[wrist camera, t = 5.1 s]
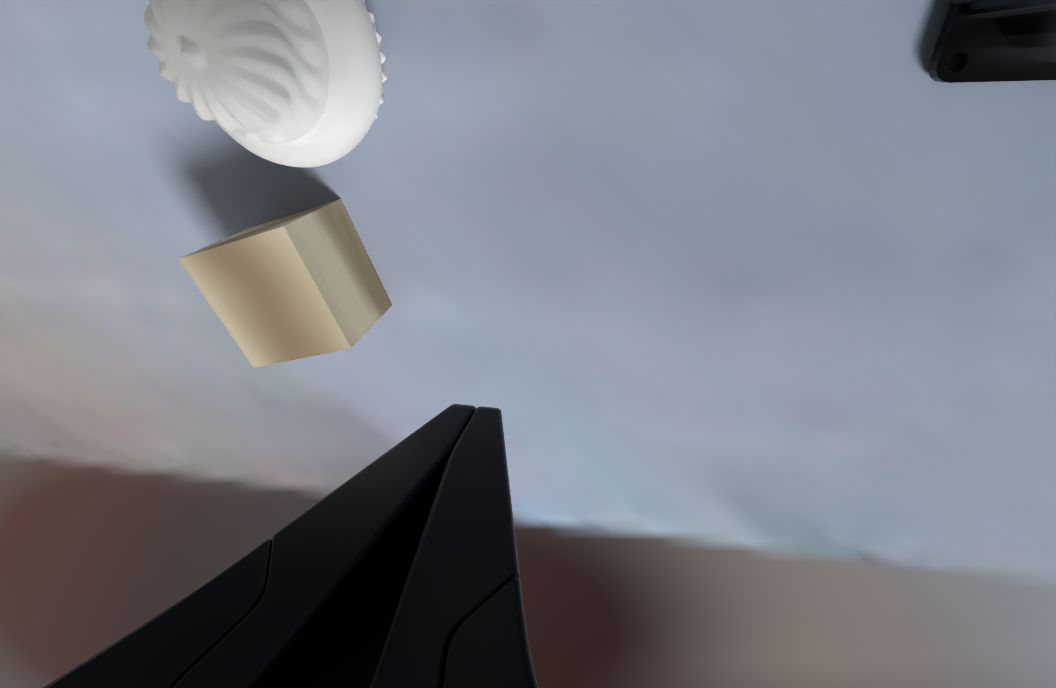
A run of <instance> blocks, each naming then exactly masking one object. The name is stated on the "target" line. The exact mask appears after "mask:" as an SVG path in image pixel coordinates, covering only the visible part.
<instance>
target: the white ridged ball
mask: <svg viewBox="0 0 1056 688" xmlns="http://www.w3.org/2000/svg"><path fill="white" fill-rule="evenodd" d="M150 3H151V4H150V5H149V6H148V7H147V8H146V10H145V14H144V20H145V24H146V26H147V28H148V29H149V30H150V32H151V33H152V34H151V35H150V36H149V39H148V42H147V45H148V47H149V49H150V50H151V52H152V53H153V54H154V55H155V56H157V57H158V59H159V60H160V67H159V74H160V75H161V76H163V77H164V78H166V79H167V80H169V81H171V82H172V83H173V84H174V88H175V94H176V97H177V98H178V99H179V100H180V101H183V102H191V103H192V105H193V107H194V109H195V111H196V113H197V114H198V115H199V117H200V118H201V119H203V120H205V121H208V120H215V121H216V122H217V123H218V124H219V125H220V127H221V128H222V129H224V130H225V131H226V132H227V133H228V134H229V135H230V136H231V137H232V138H233V139H234V140H236V141H237V142H238V143H239V144H241V145H242V146H243V147H245V148H246V149H248V150H249V151H251V152H252V153H254V154H256V155H257V156H259V157H261V158H264V159H266V160H269V161H271V162H274V163H277V164H282V165H286V166H292V167H317V166H322V165H326V164H329V163H331V162H334V161H336V160H338V159H340V158H341V157H343V156H344V155H346V154H347V153H348V152H350V151H351V150H352V149H353V148H354V147H355V146H357V144H358V143H359V142H360V141H361V140H362V139H363V137H364V136H365V135H366V133H367V132H368V131H369V129H370V127H371V125H372V123H373V121H374V119H376V118H377V117H378V108H379V104H381V103H383V101H384V99H383V89H382V83H383V82H384V81H385V80H386V79H387V77H386V74H385V71H384V68H383V66H382V64H383V62H384V61H385V60H386V57H385V56H384V55H383V54H382V53H381V52H380V50H381V41H382V36H381V35H380V34H378V33H377V32H376V26H375V19H374V15H373V14H372V13H370V12H368V11H367V8H366V4H365V1H364V0H150Z"/></svg>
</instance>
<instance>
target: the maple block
mask: <svg viewBox="0 0 1056 688" xmlns="http://www.w3.org/2000/svg"><path fill="white" fill-rule="evenodd" d="M179 260H180V261H181V263H182V264H183V266H184V267H185V268H186V270H187V271H188V273H189V274H190V276H191V277H192V279H193V280H194V282H195V283H196V284H197V286H198V287H199V289H200V290H201V292H202V293H203V295H204V296H205V298H206V299H207V300H208V302H209V303H210V305H211V306H212V308H213V309H214V311H215V312H216V314H217V315H218V316H219V318H220V319H221V321H222V322H223V324H224V325H225V327H226V328H227V330H228V331H229V332H230V334H231V335H232V337H233V338H234V340H235V341H236V343H237V344H238V346H239V347H240V348H241V350H242V351H243V353H244V354H245V356H246V357H247V359H248V360H249V362H250V363H251V364H252V366H253V367H254V368H255V367H260V366H265V365H270V364H275V363H280V362H285V361H290V360H295V359H300V358H305V357H310V356H315V355H320V354H325V353H330V352H335V351H340V350H345V349H350V348H352V347H353V346H354V345H355V344H356V343H357V342H358V341H359V339H360V338H361V337H362V336H363V335H364V334H365V333H366V332H367V331H368V330H369V329H370V328H371V327H372V326H373V325H374V324H375V323H376V322H377V321H378V319H379V318H380V317H381V316H382V315H383V314H384V313H385V312H386V311H387V310H388V309H389V308H390V307H391V306H392V303H391V301H390V299H389V297H388V295H387V293H386V291H385V289H384V287H383V285H382V283H381V281H380V278H379V276H378V274H377V272H376V270H375V268H374V266H373V264H372V262H371V260H370V258H369V256H368V254H367V252H366V249H365V247H364V245H363V243H362V241H361V239H360V237H359V235H358V233H357V231H356V229H355V227H354V225H353V223H352V220H351V218H350V216H349V214H348V212H347V210H346V208H345V206H344V204H343V202H342V200H341V199H338V200H335V201H332V202H329V203H326V204H323V205H320V206H316V207H313V208H310V209H307V210H304V211H301V212H297V213H294V214H291V215H288V216H285V217H282V218H279V219H275V220H272V221H269V222H266V223H263V224H260V225H257V226H253V227H250V228H248V229H245V230H243V231H241V232H239V233H236V234H234V235H232V236H229V237H227V238H225V239H223V240H220V241H218V242H216V243H214V244H211V245H209V246H207V247H204V248H202V249H200V250H198V251H195V252H193V253H191V254H189V255H186V256H184V257H182V258H180V259H179Z"/></svg>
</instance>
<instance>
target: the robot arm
mask: <svg viewBox="0 0 1056 688" xmlns="http://www.w3.org/2000/svg"><path fill="white" fill-rule="evenodd" d="M955 53H958V55H959V56H960V59H959V63H958V65H957V66H956V67H955V68H954V69H953V70H952V71H950V72H949V71H948V70H947V68H946V67H947V62H948V60H949V59H950V57H951V56H953V55H954V54H955ZM928 71H929V74H930V77H931V78H932V79H933V80H934V81H938V82H949V83H952V82H990V81H1028V80H1056V0H951V5H950V8H949V10H948V13H947V16H946V19H945V21H944V24H943V27H942V30H941V33H940V35H939V38H938V41H937V44H936V47H935V49H934V52H933V55H932V58H931V61H930V64H929V70H928ZM43 688H538V687H537V683H536V678H535V674H534V669H533V664H532V660H531V655H530V651H529V643H528V636H527V630H526V623H525V617H524V610H523V601H522V592H521V583H520V580H519V568H518V558H517V549H516V540H515V532H514V522H513V513H512V504H511V495H510V486H509V477H508V468H507V459H506V450H505V441H504V432H503V423H502V414H501V410H500V409H498V408H491V407H478V408H476V407H474V406H471V405H461V404H453V405H451V406H449V407H448V408H447V409H445V410H444V411H442V412H441V413H440V414H438V415H437V416H436V417H434V418H433V419H432V420H430V421H429V422H427V423H426V424H425V425H423V426H422V427H421V428H419V429H418V430H416V431H415V432H414V433H412V434H411V435H410V436H408V437H407V438H405V439H404V440H403V441H401V442H400V443H399V444H397V445H396V446H395V447H393V448H392V449H390V450H389V451H388V452H386V453H385V454H384V455H382V456H381V457H379V458H378V459H377V460H375V461H374V462H373V463H371V464H370V465H368V466H367V467H366V468H364V469H363V470H362V471H360V472H359V473H358V474H356V475H355V476H353V477H352V478H351V479H349V480H348V481H347V482H345V483H344V484H342V485H341V486H340V487H338V488H337V489H336V490H334V491H333V492H331V493H330V494H329V495H327V496H326V497H325V498H323V499H322V500H321V501H319V502H318V503H317V504H315V505H314V506H312V507H311V508H310V509H308V510H307V511H305V512H304V513H303V514H301V515H300V516H299V517H297V518H296V519H294V520H293V521H292V522H290V523H289V524H288V525H286V526H285V527H284V528H282V529H281V530H279V531H278V532H277V533H275V534H274V535H273V538H272V540H271V539H267V540H266V541H264V542H263V543H261V544H260V545H259V546H257V547H256V548H254V549H253V550H252V551H250V552H249V553H248V554H246V555H245V556H243V557H242V558H241V559H239V560H238V561H236V562H235V563H234V564H232V565H231V566H229V567H228V568H227V569H225V570H224V571H222V572H221V573H220V574H218V575H217V576H215V577H214V578H212V579H211V580H209V581H208V582H206V583H205V584H204V585H202V586H201V587H199V588H198V589H196V590H195V591H193V592H192V593H190V594H189V595H187V596H186V597H184V598H183V599H181V600H180V601H178V602H176V603H175V604H173V605H172V606H170V607H169V608H167V609H166V610H164V611H163V612H161V613H160V614H158V615H157V616H155V617H154V618H152V619H150V620H149V621H147V622H146V623H144V624H143V625H141V626H140V627H138V628H137V629H135V630H133V631H132V632H130V633H129V634H127V635H125V636H124V637H122V638H121V639H119V640H117V641H116V642H114V643H113V644H111V645H110V646H108V647H106V648H105V649H103V650H102V651H100V652H98V653H97V654H95V655H94V656H92V657H91V658H89V659H88V660H86V661H84V662H83V663H81V664H80V665H78V666H76V667H75V668H73V669H72V670H70V671H68V672H67V673H66V674H64V675H62V676H61V677H59V678H57V679H56V680H54V681H53V682H51V683H50V684H48V685H46V686H45V687H43Z"/></svg>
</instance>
